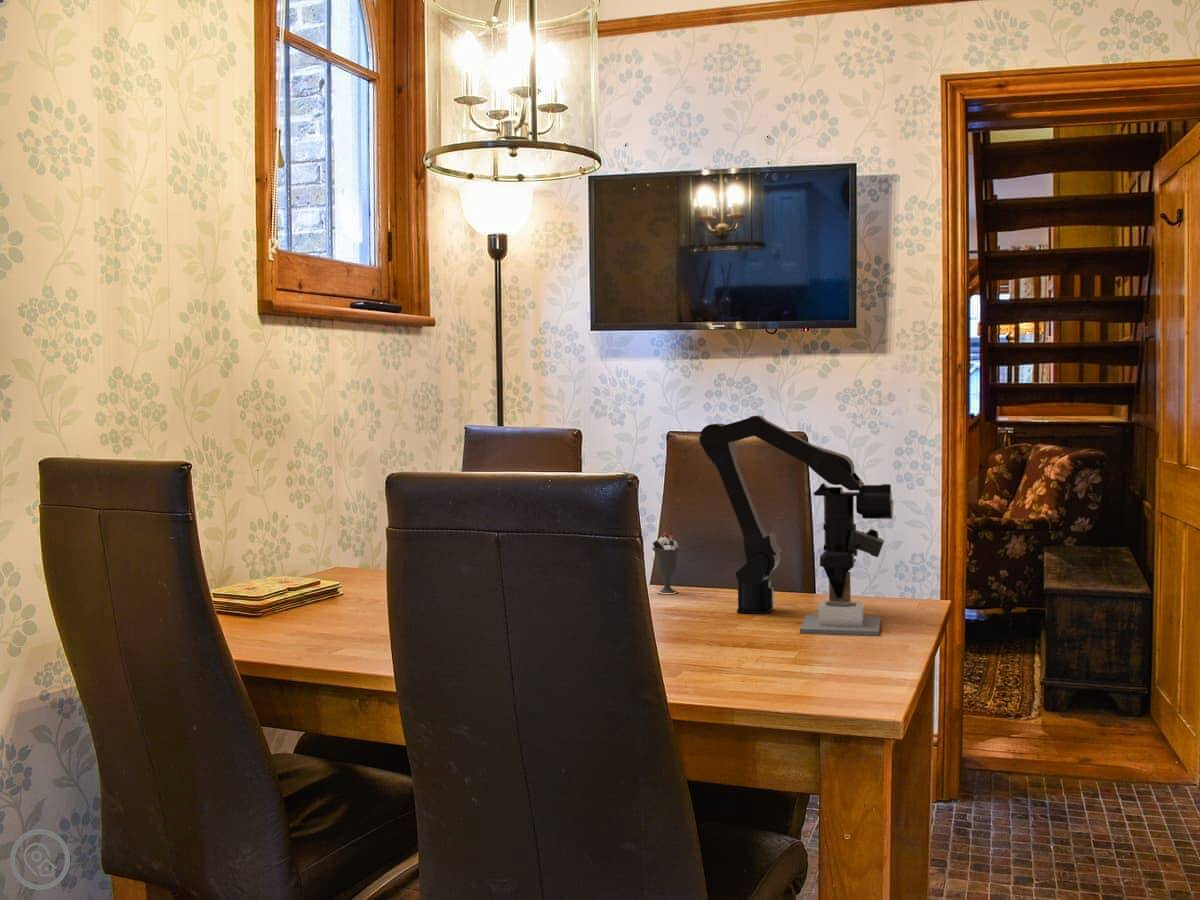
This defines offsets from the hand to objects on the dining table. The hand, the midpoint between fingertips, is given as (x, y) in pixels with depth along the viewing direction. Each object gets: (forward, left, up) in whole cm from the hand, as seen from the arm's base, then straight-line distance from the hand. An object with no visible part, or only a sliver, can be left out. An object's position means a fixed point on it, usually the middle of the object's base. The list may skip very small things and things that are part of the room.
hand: (839, 597), depth 218 cm
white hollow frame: (+1, -12, -4) cm, 13 cm away
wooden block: (0, 0, -2) cm, 2 cm away
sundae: (-39, +19, -4) cm, 44 cm away
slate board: (+1, -12, -4) cm, 13 cm away
